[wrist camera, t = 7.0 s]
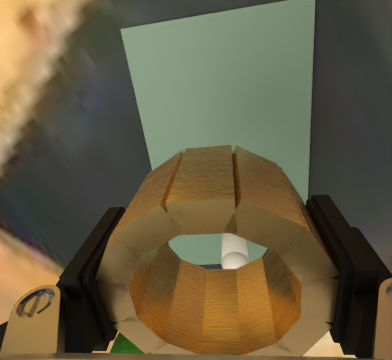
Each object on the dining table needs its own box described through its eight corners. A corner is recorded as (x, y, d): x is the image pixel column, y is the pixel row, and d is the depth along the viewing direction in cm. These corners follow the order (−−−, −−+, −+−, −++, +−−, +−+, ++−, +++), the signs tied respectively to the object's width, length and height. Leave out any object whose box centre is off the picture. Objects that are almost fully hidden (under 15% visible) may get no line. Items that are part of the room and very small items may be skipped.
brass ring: (119, 154, 11) (66, 208, 7) (306, 138, 10) (352, 191, 6) (153, 286, 14) (127, 370, 10) (299, 283, 13) (328, 376, 9)
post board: (125, 29, 28) (76, 22, 19) (310, -2, 25) (359, -29, 16) (175, 258, 41) (160, 321, 32) (302, 252, 38) (327, 320, 29)
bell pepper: (178, 310, 46) (166, 374, 37) (166, 339, 49) (153, 404, 41) (129, 295, 45) (105, 357, 36) (121, 326, 49) (97, 389, 40)
